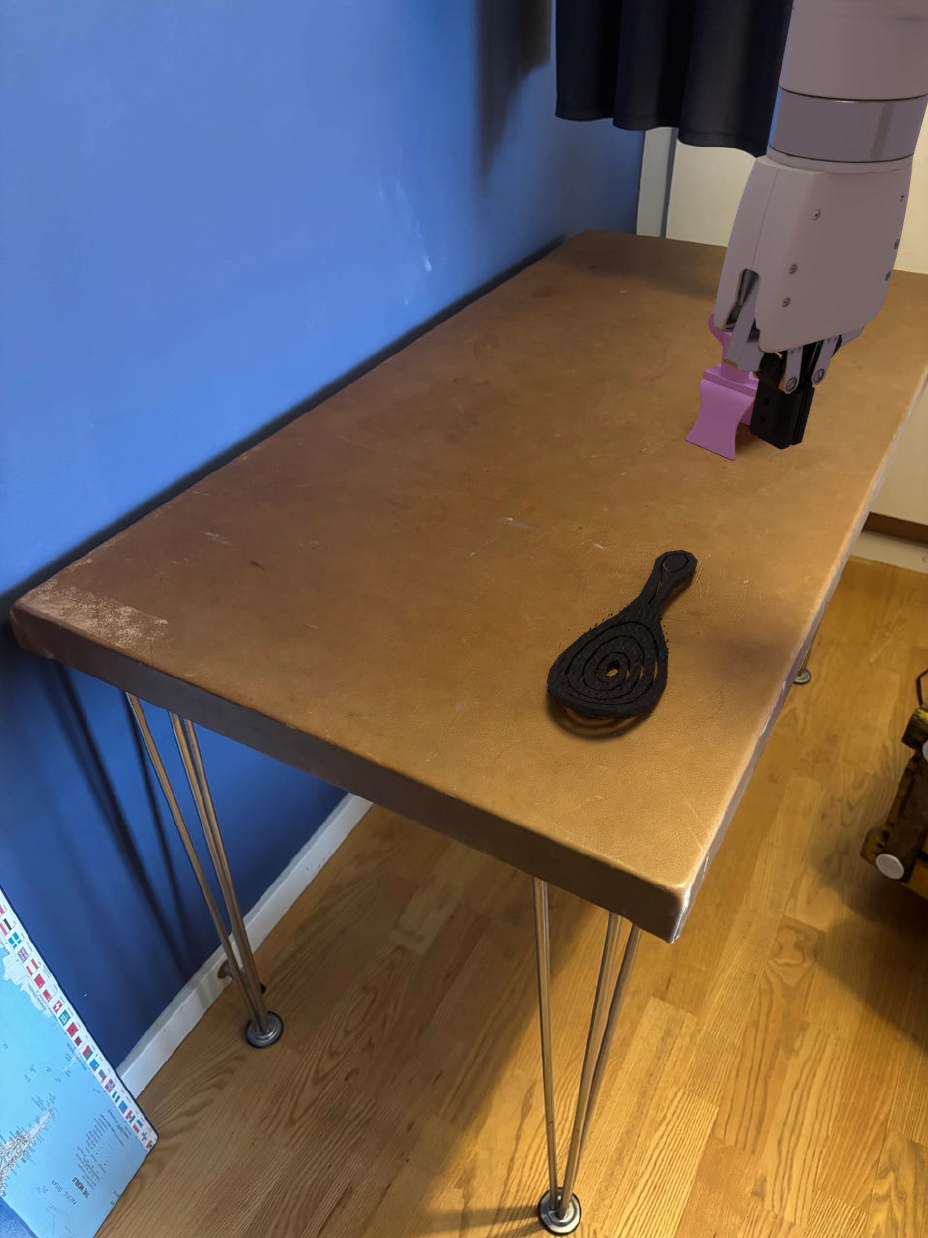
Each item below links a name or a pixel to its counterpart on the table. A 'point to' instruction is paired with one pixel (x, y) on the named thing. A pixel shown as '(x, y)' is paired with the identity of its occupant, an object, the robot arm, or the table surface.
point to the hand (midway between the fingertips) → (774, 437)
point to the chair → (723, 402)
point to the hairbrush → (622, 652)
